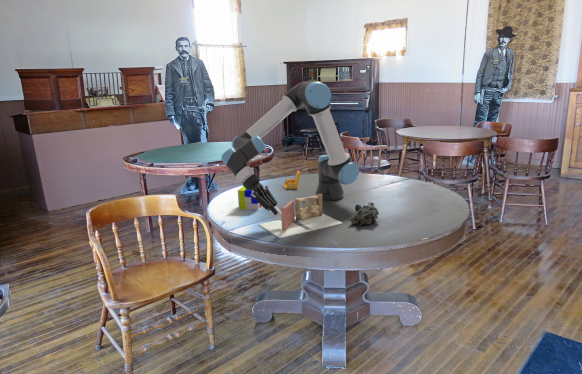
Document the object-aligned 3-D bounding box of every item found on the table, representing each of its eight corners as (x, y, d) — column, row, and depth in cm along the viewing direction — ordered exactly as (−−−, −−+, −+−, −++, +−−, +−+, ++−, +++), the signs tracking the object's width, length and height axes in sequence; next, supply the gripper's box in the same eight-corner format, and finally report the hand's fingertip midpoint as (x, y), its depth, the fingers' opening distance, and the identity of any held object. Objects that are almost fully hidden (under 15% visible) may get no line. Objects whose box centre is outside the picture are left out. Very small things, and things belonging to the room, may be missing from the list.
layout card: (318, 212, 214) (318, 211, 214) (342, 223, 197) (342, 222, 197) (258, 224, 199) (258, 223, 199) (279, 238, 182) (279, 237, 182)
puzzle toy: (258, 210, 220) (257, 190, 218) (238, 209, 222) (237, 190, 220) (263, 204, 230) (262, 185, 227) (244, 203, 232) (243, 185, 229)
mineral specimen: (347, 205, 206) (358, 190, 201) (371, 217, 208) (382, 202, 202) (345, 225, 194) (357, 210, 188) (370, 238, 196) (382, 223, 190)
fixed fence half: (320, 213, 210) (320, 193, 208) (323, 215, 209) (323, 194, 206) (294, 219, 203) (294, 198, 201) (297, 220, 202) (296, 199, 199)
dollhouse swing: (283, 185, 267) (282, 170, 265) (298, 184, 268) (298, 169, 266) (284, 189, 257) (283, 174, 255) (300, 188, 258) (300, 173, 256)
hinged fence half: (291, 219, 203) (290, 199, 200) (295, 219, 202) (295, 199, 200) (281, 229, 189) (280, 208, 187) (285, 230, 189) (285, 208, 186)
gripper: (250, 180, 203) (283, 219, 201) (235, 187, 192) (270, 228, 189) (260, 170, 200) (294, 209, 197) (246, 176, 188) (281, 218, 186)
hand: (282, 219), depth 193 cm, fingers closed
